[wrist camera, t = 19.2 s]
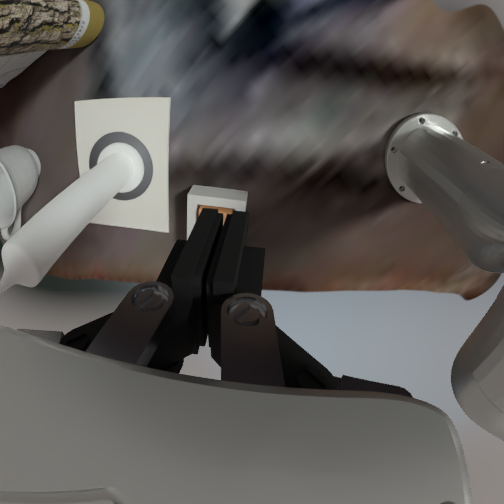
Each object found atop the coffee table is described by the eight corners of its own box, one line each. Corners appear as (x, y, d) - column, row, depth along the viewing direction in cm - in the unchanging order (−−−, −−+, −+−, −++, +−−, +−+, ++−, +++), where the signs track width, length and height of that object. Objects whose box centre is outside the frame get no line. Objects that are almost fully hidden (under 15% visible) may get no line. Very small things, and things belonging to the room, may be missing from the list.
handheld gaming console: (7, 73, 29) (61, 26, 24) (11, 87, 30) (65, 42, 26) (-45, 92, 20) (-2, 36, 16) (-41, 108, 22) (1, 55, 17)
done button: (233, 206, 38) (231, 213, 36) (230, 232, 40) (228, 241, 39) (202, 202, 38) (198, 209, 36) (201, 229, 40) (198, 237, 38)
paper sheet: (170, 97, 31) (169, 97, 31) (169, 231, 42) (168, 232, 42) (76, 101, 31) (74, 101, 31) (87, 221, 42) (86, 222, 42)
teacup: (18, 211, 42) (-15, 242, 33) (2, 134, 33) (-39, 157, 25) (64, 214, 42) (30, 249, 33) (49, 125, 33) (4, 148, 25)
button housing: (248, 191, 38) (246, 201, 36) (242, 238, 42) (240, 250, 40) (193, 184, 38) (187, 194, 36) (191, 231, 42) (187, 243, 40)
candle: (116, 198, 39) (11, 331, 19) (90, 158, 36) (-39, 270, 15) (154, 177, 37) (45, 318, 17) (127, 132, 34) (-18, 240, 13)
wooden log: (116, 11, 24) (-51, 2, 4) (88, 55, 28) (-78, 94, 7) (83, -5, 22) (-74, -9, 2) (58, 37, 25) (-98, 69, 5)
